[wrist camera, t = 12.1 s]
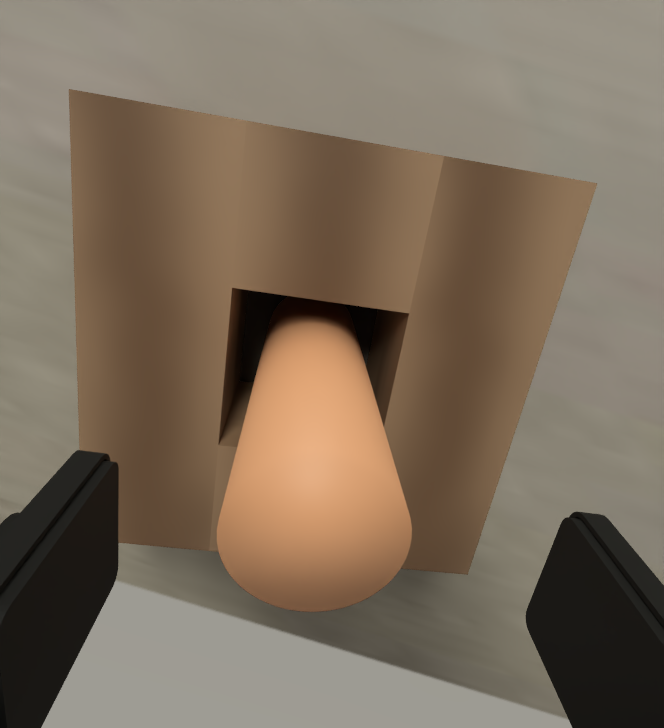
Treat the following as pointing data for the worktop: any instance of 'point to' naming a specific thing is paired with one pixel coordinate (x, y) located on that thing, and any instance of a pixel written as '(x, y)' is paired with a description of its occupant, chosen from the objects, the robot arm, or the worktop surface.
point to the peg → (313, 471)
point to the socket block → (311, 281)
